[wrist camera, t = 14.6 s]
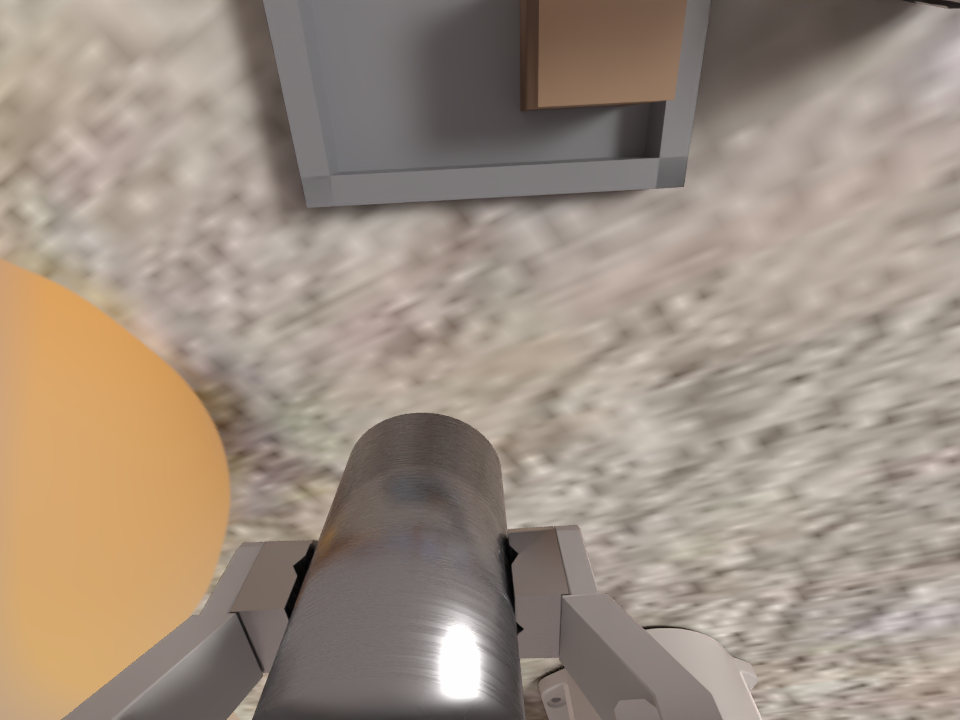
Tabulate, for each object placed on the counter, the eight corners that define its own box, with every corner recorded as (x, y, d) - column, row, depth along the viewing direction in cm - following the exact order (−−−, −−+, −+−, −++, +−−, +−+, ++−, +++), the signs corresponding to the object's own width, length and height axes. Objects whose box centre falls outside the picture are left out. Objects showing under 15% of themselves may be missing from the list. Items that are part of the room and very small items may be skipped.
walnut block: (625, 105, 19) (674, 100, 15) (520, 111, 19) (537, 107, 15) (637, -30, 17) (698, -83, 13) (519, -24, 17) (539, -75, 13)
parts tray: (663, 181, 21) (683, 187, 19) (321, 200, 21) (307, 208, 19) (705, -147, 16) (738, -184, 14) (256, -126, 16) (228, -160, 14)
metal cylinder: (503, 529, 13) (529, 816, 7) (361, 537, 13) (282, 829, 7) (499, 408, 11) (528, 670, 6) (333, 417, 11) (205, 686, 6)
